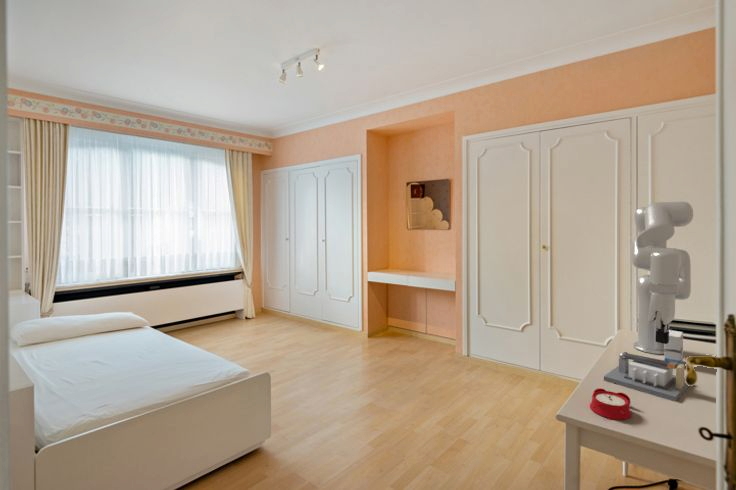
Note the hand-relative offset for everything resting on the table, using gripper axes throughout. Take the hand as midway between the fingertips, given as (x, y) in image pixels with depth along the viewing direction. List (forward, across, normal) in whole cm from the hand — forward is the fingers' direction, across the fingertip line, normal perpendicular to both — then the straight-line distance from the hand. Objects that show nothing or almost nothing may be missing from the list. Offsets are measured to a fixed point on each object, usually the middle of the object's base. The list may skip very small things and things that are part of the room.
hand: (662, 342), depth 126 cm
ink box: (+16, -25, -3) cm, 30 cm away
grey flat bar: (+8, +1, -4) cm, 9 cm away
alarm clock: (+15, +29, -5) cm, 33 cm away
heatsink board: (+15, +1, -4) cm, 15 cm away
